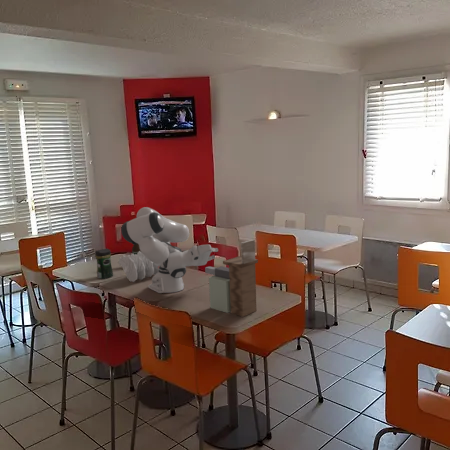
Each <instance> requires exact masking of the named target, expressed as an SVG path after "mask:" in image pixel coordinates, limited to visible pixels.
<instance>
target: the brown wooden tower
mask: <svg viewBox="0 0 450 450" xmlns="http://www.w3.org/2000/svg"><path fill="white" fill-rule="evenodd" d="M255 242H256V241H255V239H250V240H246V241H242V242H240V247H241V249H240V251H241V252H240V253H241V256H240V255H239V256H236V257H231V258H230V259H226V260H223V261H222V264H223V265H225V266H228V268H229V279H230V303H231V312H230V314H232V315H236V316H239V317H246V316H248V315H251V314H253V313H255V312H257V310H258V309H257V285H256V284H257V281H256V278H257V277H256V264H257V263H258V262H259V259H257V258H256V244H255Z"/></svg>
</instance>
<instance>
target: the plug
mask: <svg viewBox="0 0 450 450" xmlns="http://www.w3.org/2000/svg"><path fill="white" fill-rule="evenodd" d="M204 268H205V269H204V272H205V274H208V275H212V276H217V277H221V278H225V279H229V267H227V266H223V265H222V266H218V267H214V266H210V265H209V266H206V267H204Z"/></svg>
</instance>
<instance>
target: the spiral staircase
mask: <svg viewBox="0 0 450 450" xmlns="http://www.w3.org/2000/svg"><path fill="white" fill-rule="evenodd" d="M117 264H118V265H119V266H121V268H122V270H123V272H124V273H125V275H126V276H125V277H126V278H127V279H128V280H129V281H130V282H132V283H135V282H136V280H140V281H143V280H144V279H145V278H149V277H150V278H151V277H153V276H155V275H156V274H157V273H158V272H159V267H158V266H160V264H156V263H153V262H152V261H150V260H149V259H148V258H146V257H145V256H144V255H143V253H142V252H140V251H139V252H138V253H137V255H136V254H135V255H134V254H132V253H131V254H127V255H124V254H123V255H122V256H121V257H120V256H119V257H118V261H117Z"/></svg>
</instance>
